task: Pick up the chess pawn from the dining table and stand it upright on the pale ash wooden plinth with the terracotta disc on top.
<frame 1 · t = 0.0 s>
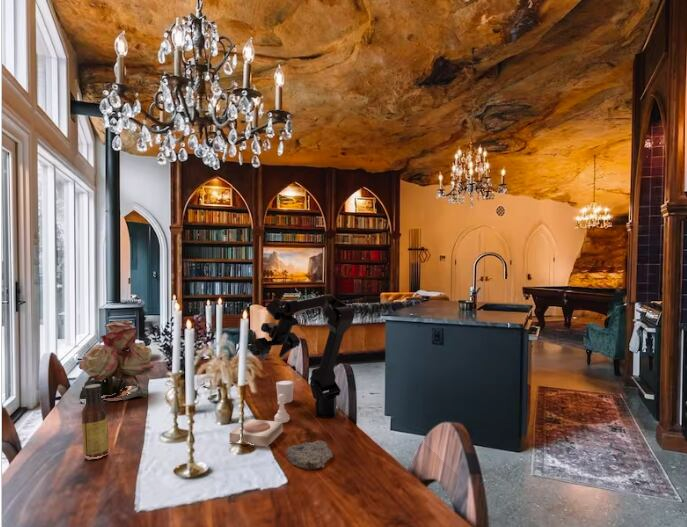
hand: (270, 358, 181), 15 cm above the table, tool tilted 35°, fingers open, 9 cm apart
shot glass: (285, 401, 175), on the table
plinth: (257, 437, 140), on the table
rose bouquet: (120, 394, 186), on the table
sauce bottle: (95, 457, 128), on the table
stone slab: (312, 459, 126), on the table
chess pawn: (282, 421, 154), on the table
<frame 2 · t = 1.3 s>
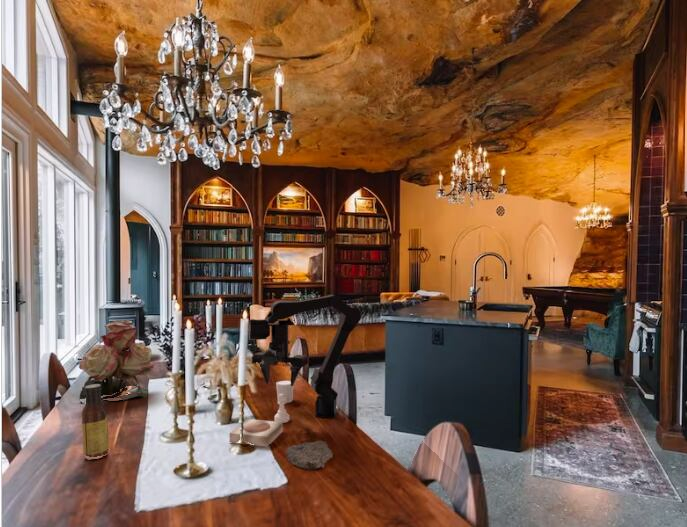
hand: (279, 384, 155), 12 cm above the table, tool pointing down, fingers open, 9 cm apart
nothing on the table moved.
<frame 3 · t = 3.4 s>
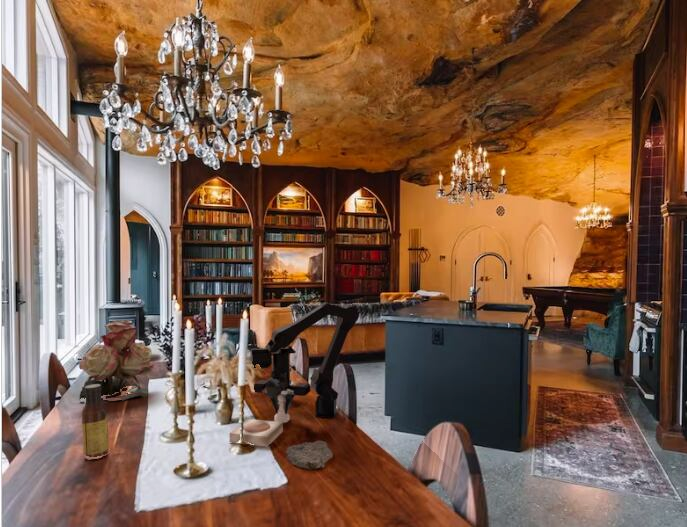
hand: (281, 413, 154), 3 cm above the table, tool pointing down, fingers closed on chess pawn, 3 cm apart
chess pawn: (282, 421, 154), on the table, touching gripper
everything else where it was.
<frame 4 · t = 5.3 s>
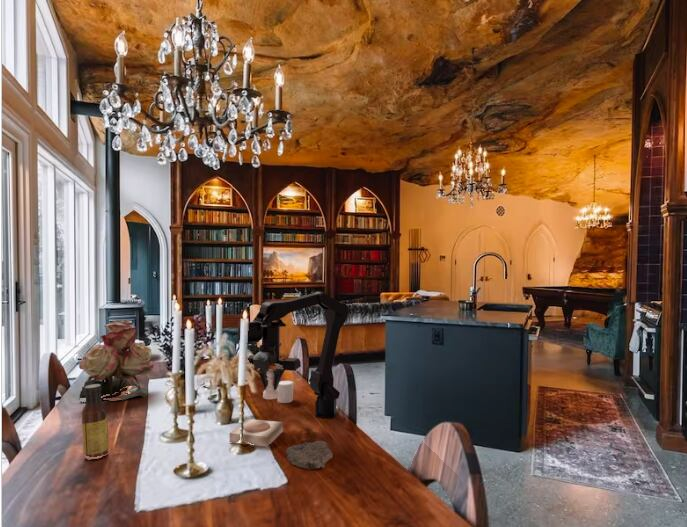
hand: (270, 389, 148), 12 cm above the table, tool pointing down, fingers closed on chess pawn, 3 cm apart
chess pawn: (270, 397, 148), point 10 cm above the table, touching gripper
everything else where it was.
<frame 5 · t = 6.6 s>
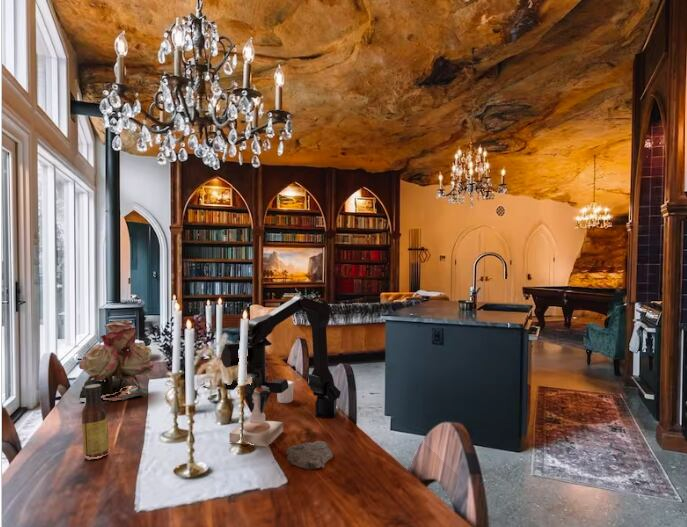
hand: (257, 412, 140), 8 cm above the table, tool pointing down, fingers closed on chess pawn, 3 cm apart
chess pawn: (257, 421, 140), point 5 cm above the table, touching gripper
everything else where it was.
when the fingers open (7 cm above the table, at t = 7.3 s): chess pawn drops 1 cm, resting on plinth.
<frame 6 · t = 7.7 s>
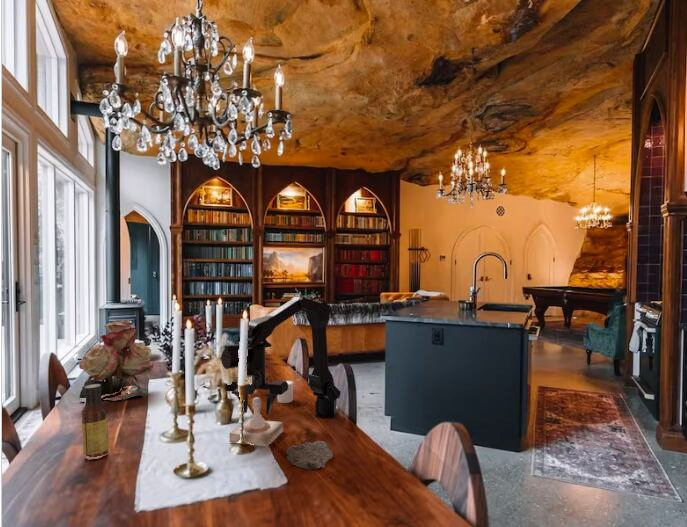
hand: (256, 413, 140), 7 cm above the table, tool pointing down, fingers open, 7 cm apart
chess pawn: (257, 427, 140), point 3 cm above the table, touching plinth
everything else where it was.
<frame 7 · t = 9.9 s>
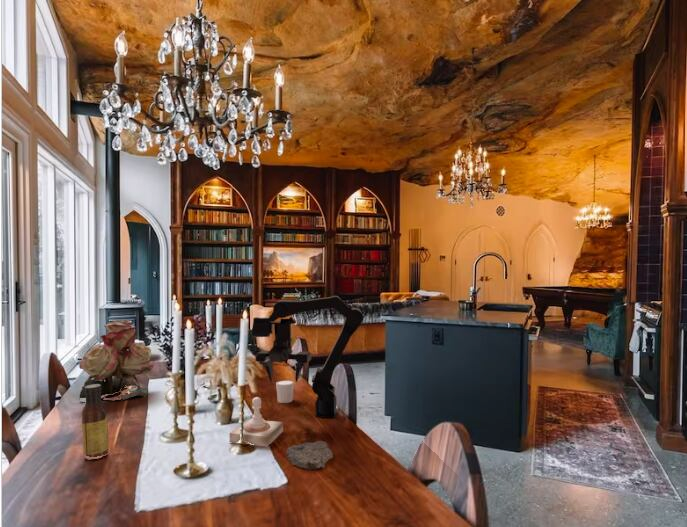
hand: (284, 381, 159), 12 cm above the table, tool pointing down, fingers open, 9 cm apart
nothing on the table moved.
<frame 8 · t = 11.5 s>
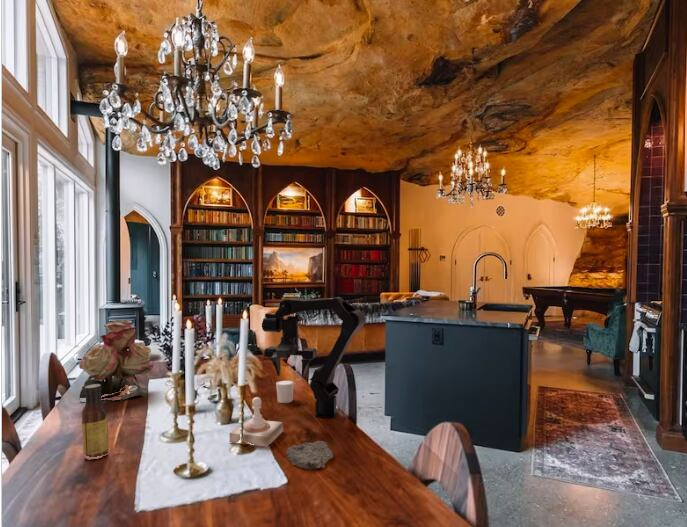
hand: (290, 376, 165), 12 cm above the table, tool pointing down, fingers open, 9 cm apart
nothing on the table moved.
at the end: chess pawn inside the target area on the plinth (0.1 cm from its centre), point 3.0 cm above the plinth's base; chess pawn tilted 0°; the gripper is holding nothing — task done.
